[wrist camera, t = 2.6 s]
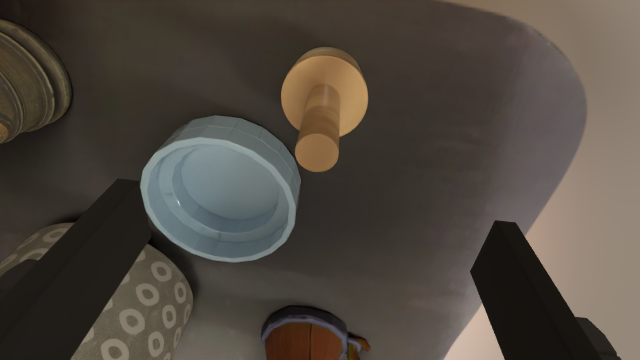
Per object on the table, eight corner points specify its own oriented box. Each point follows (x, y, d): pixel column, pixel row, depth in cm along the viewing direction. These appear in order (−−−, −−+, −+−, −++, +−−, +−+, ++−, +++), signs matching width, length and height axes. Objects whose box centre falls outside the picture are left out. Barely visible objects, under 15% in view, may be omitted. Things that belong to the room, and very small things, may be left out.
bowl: (306, 121, 31) (300, 148, 26) (297, 233, 38) (291, 269, 34) (155, 104, 31) (125, 128, 26) (175, 220, 38) (154, 253, 34)
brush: (372, 48, 27) (386, 104, 17) (359, 125, 31) (365, 206, 21) (289, 39, 27) (258, 90, 17) (285, 116, 30) (258, 194, 21)
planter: (38, 285, 46) (-114, 453, 30) (44, 177, 36) (-177, 345, 21) (181, 331, 49) (109, 500, 34) (222, 244, 40) (145, 429, 24)
